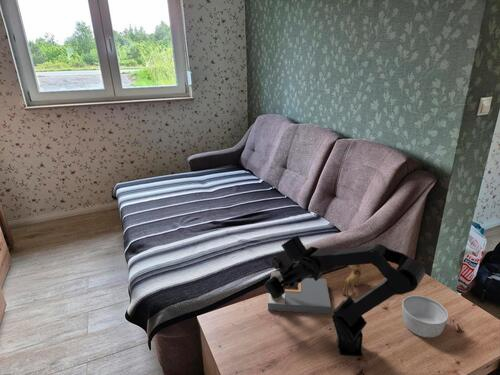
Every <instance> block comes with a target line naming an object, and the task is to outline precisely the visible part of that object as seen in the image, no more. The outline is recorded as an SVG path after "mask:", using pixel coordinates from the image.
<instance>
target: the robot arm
mask: <svg viewBox="0 0 500 375" xmlns="http://www.w3.org/2000/svg"><path fill="white" fill-rule="evenodd" d="M281 247H282V248H283V251H280V252H279V253H277V254H276V255H275V256H274V257H273V258H272V259H271V266H272V267H273V268H274V269H275V271H278V270H279V272H280V274H281V275H282V281H279V280H278V278H277V277H275V276H274V277H272V278H271V279H268V280H267V281H265V282H264V286H265V287H266V289H265V293H267V294H268V295H269V294H271V296H272V298H273V299H277V298H279V297H280V296H282V295H283V294H284V293H285V289H286V286H287V285H288V284H289V286H290V288H292V286H294V285H295V284H296V283H300V282H301V281H303V280H304V279H306V278H314V280H315V281H317V280H318V279H321V278H322V276H323V273H325V272H328V271H330V270H331V269H334V268H338V267H346V266H347V267H349V265H360V266H361V265H370V264H372V266H374V267H376V268H377V269H378V271H379V272H380V274H381V275H382V276H383V277H384V278H385V279H384V280H383V281H381V282H380V283H378V284H377V285H375V286H374V287H373V288H371V289H370V290H368V291H367V292H366V293H364V294H362V295H361V296H360V297H359V298H357V299H353V298H352V297H351V296H350V295H348V296H349V298H348V299H347V298H346V299H344V300H342V301H341V302H340V303H339V305H337V307H336V308H334V310H332V313H333V314H332V315H331V318H332V322H333V325H334V328H335V332H336V345H337V348H338V350H339V353H340V355H342V356H354V357H363V354H364V353H363V350H362V346H363V337H364V334H363V332H362V330H363V329H364V328H365V327H366V325H367V321H366V319H365V318H364V316H363V315H365V314H367V313H369V312H370V311H371V310H373V309H374V308H376V307H377V306H379V305H380V304H382V303H385V301H387V300H389V299H390V298H392V297H394V296H396V295H398V296H399V295H400V296H401V295H402V296H403V295H405V294H408V293H411V292H413V291H415V290H416V289H417V288H418V286H419V284H420V283H421V281H423V278H424V277H425V275H426V269H425V267H424V265H423V263H422V262H420V261H419V260H417V259H414V258H412V257H410V256H408V255H407V254H405V253H403V252H400V251H396V250H393V249H390V248H388V247H386V246H384V245H383V244H381V243H375V244H373V245H369V246H367V245H366V246H360V247H353V248H345V249H334V248H332V247H321V248H320V247H315V246H310V247H308V248H306V246H305V245H304V244H303V242H302V240H301V238H300V237H299V235H296V236H294V237H293V236H292V237H291V238H290V239H289V240H287V241H285V242H284V243H282V244H281ZM390 263H392V264H395V265H398V266H397V267H393V266H392V265H391V264H390ZM285 282H286V283H285ZM282 284H283V285H282Z"/></svg>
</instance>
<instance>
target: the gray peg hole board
mask: <svg viewBox="0 0 500 375" xmlns="http://www.w3.org/2000/svg"><path fill="white" fill-rule="evenodd" d="M270 279H271V276H270ZM285 283H286V282H285ZM282 285H283V284H282ZM286 287H287V288H288V287H290V286H289V284H288V285H287V286H286ZM286 287H285V288H284V289H285V293H284V294H283V295H282V299H281V300H280V301H273V300H272V299H271V294H269V293H268V299H267V310H268V311H273V310H278V311H277V312H291V311H293V312H295V313H310V314H311V313H312V314H313V313H314V314H327V315H328V314H329V315H330V314H331V312H332V307H331V306H332V304H331V300H330V294H329V288H328V284H327V279H326V278H319V279H318V280H317V281H315V280H314V278H313V277H308V278H306V279H304V280H303V281H301V282H300V283H296V284H295V285H294V286H292V287H293V288H297V289H286ZM292 287H290V288H292ZM293 312H292V313H293Z"/></svg>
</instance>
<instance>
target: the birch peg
mask: <svg viewBox="0 0 500 375" xmlns="http://www.w3.org/2000/svg"><path fill="white" fill-rule="evenodd" d="M280 272H281V271H280V270H274V271H272V272H270V277H271V278H272V277H274V276H275V277H277V278H278V280H279V281H282V277H283V275H281V274H280ZM271 299H272V300H273V301H280V300H281V299H282V296H280V297H279V298H277V299H273V298H272V296H271Z"/></svg>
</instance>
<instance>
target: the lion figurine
mask: <svg viewBox="0 0 500 375" xmlns="http://www.w3.org/2000/svg"><path fill="white" fill-rule="evenodd" d="M348 267H349V270H350V271H349V273H350V274H349V276H348V277H347V278H345V281H344V284H343V285H344V286H343V290H342V296H343V295H344V296H346V300H347V299H348V298H349V296H350V295H349V293H348V291H349V290H348V288H349V287H350V293H351V294H353V295H355V294H356V291H354V289H355V285H356V286H360V278H361V275H362V270H361V269H362V268H361V265H349V266H348Z"/></svg>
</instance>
